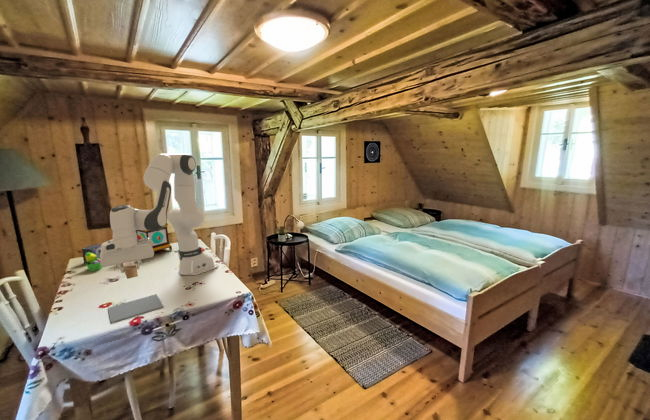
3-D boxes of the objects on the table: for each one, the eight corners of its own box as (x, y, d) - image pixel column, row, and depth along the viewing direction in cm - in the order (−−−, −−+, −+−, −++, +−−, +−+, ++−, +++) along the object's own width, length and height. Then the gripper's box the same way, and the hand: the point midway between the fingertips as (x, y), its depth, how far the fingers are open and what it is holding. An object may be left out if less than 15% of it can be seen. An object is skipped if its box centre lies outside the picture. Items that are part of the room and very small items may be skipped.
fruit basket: (101, 270, 182) (98, 253, 180) (84, 272, 179) (81, 255, 177) (107, 264, 192) (104, 248, 190) (91, 266, 189) (88, 250, 187)
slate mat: (156, 295, 147) (156, 294, 147) (163, 307, 135) (163, 306, 135) (108, 308, 135) (108, 307, 135) (111, 323, 123) (111, 322, 123)
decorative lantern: (147, 258, 202) (141, 216, 197) (133, 253, 213) (127, 213, 207) (175, 250, 219) (170, 211, 214) (160, 246, 229) (155, 209, 224)
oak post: (125, 270, 125) (122, 262, 134) (127, 278, 126) (124, 271, 135) (136, 267, 127) (132, 260, 136) (137, 276, 128) (134, 268, 137)
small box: (91, 264, 193) (88, 249, 192) (83, 263, 195) (80, 248, 193) (106, 258, 204) (103, 244, 202) (98, 258, 205) (95, 243, 203)
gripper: (151, 235, 138) (154, 263, 141) (97, 244, 125) (102, 274, 128) (153, 238, 133) (157, 266, 136) (97, 248, 120) (103, 279, 123)
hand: (130, 270), depth 132 cm, fingers closed on oak post, 4 cm apart
